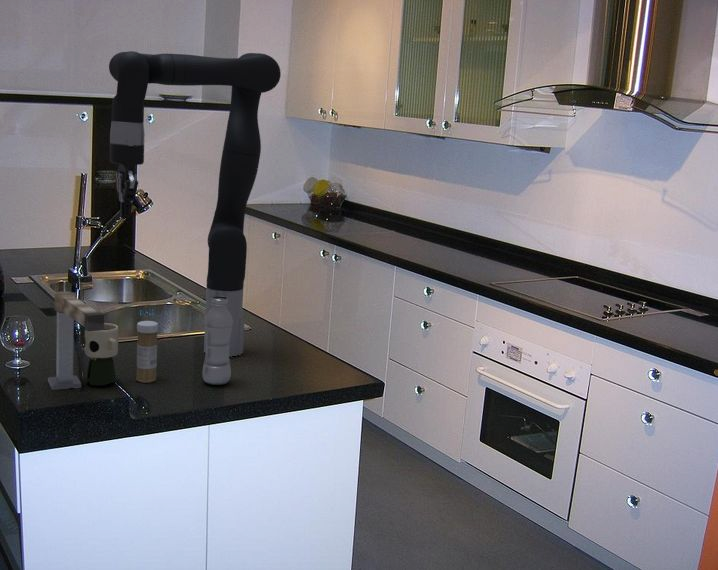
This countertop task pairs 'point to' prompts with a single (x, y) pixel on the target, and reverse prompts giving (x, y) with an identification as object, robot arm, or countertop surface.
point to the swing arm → (78, 311)
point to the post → (64, 355)
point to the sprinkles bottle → (147, 351)
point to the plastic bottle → (217, 342)
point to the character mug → (101, 354)
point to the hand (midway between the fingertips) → (125, 218)
